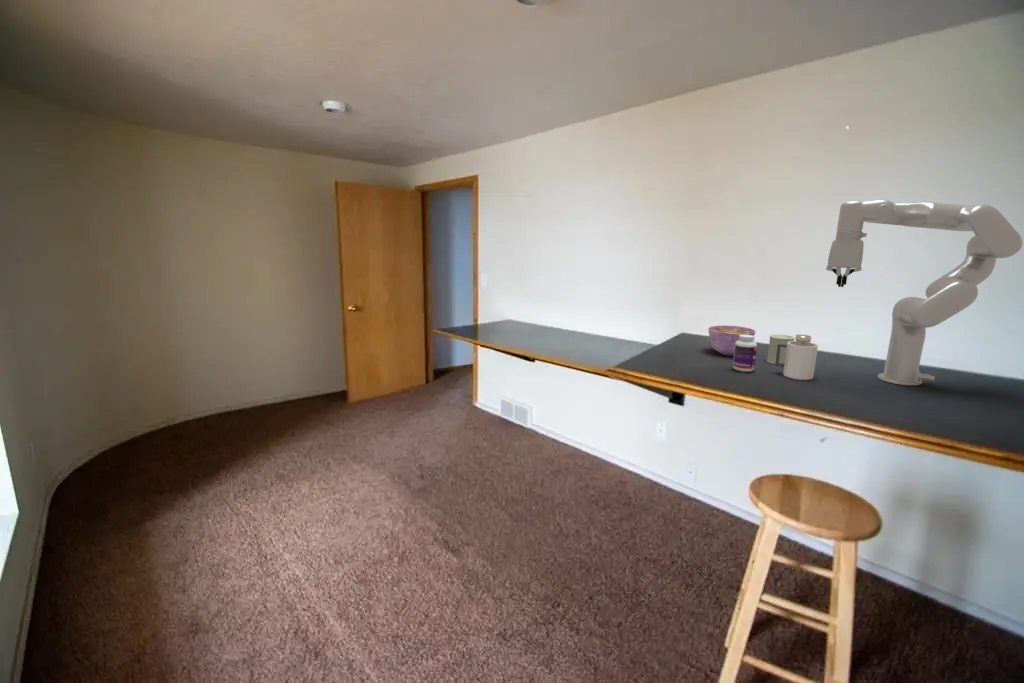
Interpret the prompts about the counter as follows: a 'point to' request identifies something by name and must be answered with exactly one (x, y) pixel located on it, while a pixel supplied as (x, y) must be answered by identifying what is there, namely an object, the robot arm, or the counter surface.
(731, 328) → the bowl of food
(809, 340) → the plunger
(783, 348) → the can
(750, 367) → the pill bottle
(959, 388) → the counter surface
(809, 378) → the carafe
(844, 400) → the counter surface
